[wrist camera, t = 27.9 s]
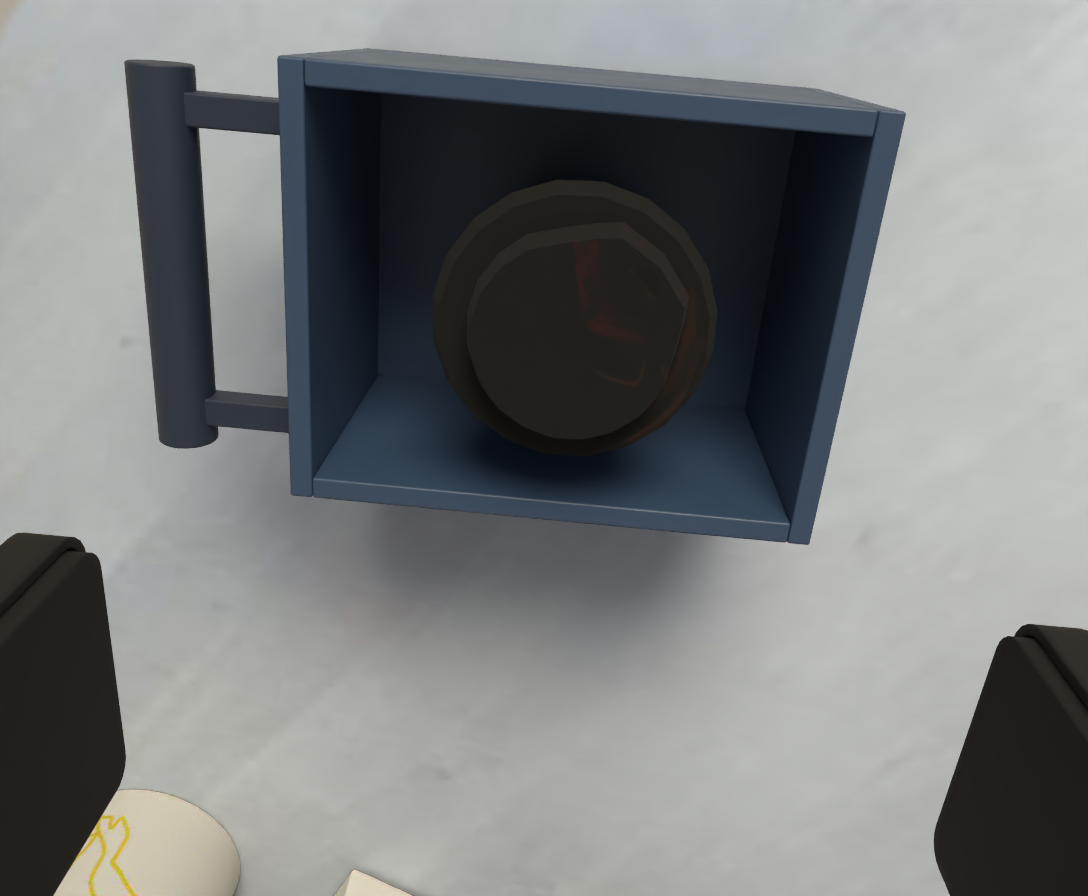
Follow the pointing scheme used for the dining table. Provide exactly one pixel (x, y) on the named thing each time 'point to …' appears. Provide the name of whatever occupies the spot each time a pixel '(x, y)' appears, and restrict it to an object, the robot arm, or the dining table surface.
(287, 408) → the blue drawer with handle
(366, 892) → the milk carton
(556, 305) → the coffee cup
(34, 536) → the robot arm
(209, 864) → the cup
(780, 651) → the dining table surface
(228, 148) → the dining table surface
